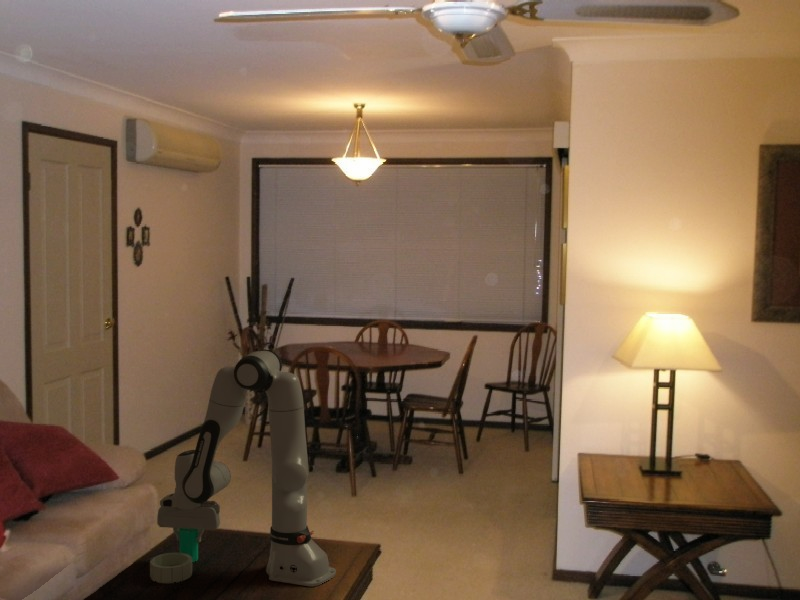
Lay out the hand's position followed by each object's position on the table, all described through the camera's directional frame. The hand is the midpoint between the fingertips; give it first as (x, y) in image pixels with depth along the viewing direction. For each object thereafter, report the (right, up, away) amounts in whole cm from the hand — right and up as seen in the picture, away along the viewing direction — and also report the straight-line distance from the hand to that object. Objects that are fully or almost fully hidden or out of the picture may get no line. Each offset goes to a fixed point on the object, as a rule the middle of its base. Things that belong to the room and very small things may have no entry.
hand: (188, 541), depth 277 cm
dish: (-2, -7, -12) cm, 14 cm away
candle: (0, -6, +1) cm, 6 cm away
